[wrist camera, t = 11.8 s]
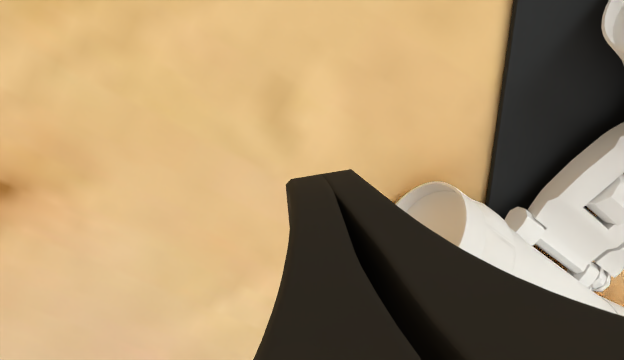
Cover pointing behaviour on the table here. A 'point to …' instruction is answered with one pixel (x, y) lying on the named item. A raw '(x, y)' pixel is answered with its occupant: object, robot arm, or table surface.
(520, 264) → the binoculars
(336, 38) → the table surface
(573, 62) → the mat
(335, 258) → the robot arm
